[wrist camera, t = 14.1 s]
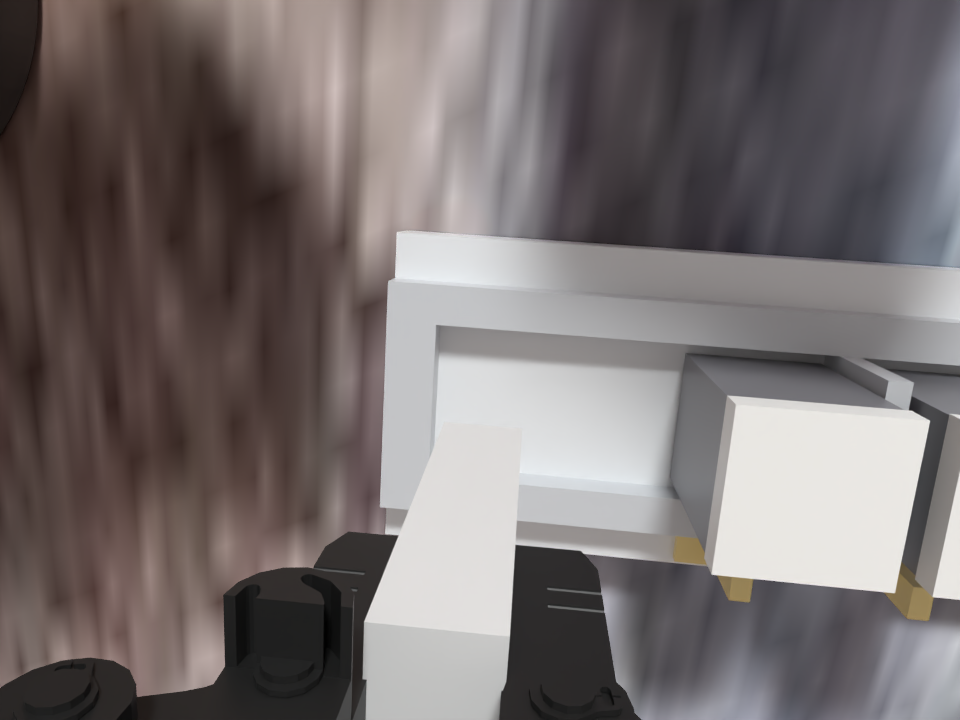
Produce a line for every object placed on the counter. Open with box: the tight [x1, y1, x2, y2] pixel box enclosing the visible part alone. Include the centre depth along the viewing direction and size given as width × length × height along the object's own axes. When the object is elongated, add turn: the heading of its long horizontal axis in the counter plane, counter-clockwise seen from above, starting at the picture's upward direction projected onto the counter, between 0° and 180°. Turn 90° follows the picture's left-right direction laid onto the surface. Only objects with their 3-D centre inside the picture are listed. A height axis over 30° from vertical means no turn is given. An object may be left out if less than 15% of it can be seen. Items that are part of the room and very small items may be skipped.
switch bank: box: [380, 231, 960, 621], centre depth 21 cm, size 27×10×6 cm, turn 86°
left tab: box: [670, 353, 930, 593], centre depth 19 cm, size 4×4×6 cm
